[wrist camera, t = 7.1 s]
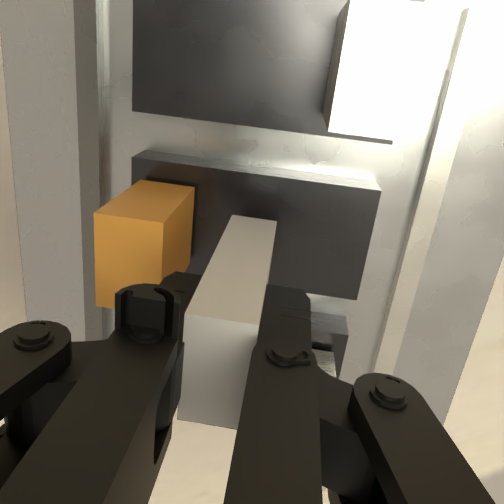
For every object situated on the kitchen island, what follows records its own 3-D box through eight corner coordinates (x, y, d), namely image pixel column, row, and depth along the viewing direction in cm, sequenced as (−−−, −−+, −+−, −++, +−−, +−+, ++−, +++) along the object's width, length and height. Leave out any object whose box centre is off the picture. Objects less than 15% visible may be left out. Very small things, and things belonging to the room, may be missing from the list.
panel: (51, 340, 24) (-54, 455, 17) (23, -58, 17) (-172, -142, 10) (431, 400, 23) (487, 549, 16) (563, 2, 16) (765, -45, 9)
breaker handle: (138, 255, 18) (95, 306, 14) (140, 179, 17) (93, 213, 13) (189, 263, 18) (159, 315, 14) (195, 187, 16) (163, 222, 13)
